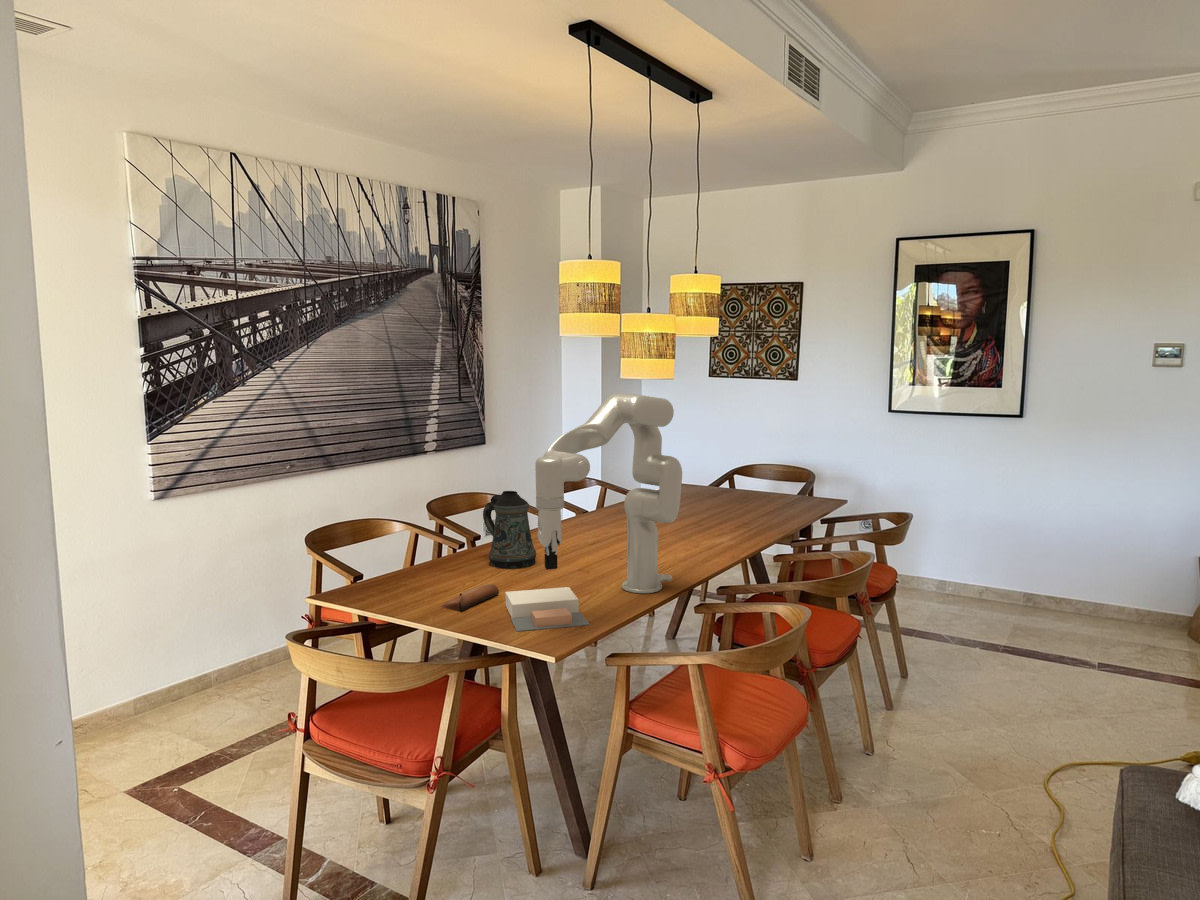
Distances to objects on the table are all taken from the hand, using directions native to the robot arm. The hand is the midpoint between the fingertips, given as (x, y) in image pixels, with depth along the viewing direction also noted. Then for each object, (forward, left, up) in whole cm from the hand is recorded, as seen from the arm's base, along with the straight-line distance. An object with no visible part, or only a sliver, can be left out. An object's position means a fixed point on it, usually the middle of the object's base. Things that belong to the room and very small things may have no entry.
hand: (551, 568), depth 221 cm
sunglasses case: (+19, -24, -16) cm, 35 cm away
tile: (0, 0, -14) cm, 14 cm away
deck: (0, -12, -15) cm, 19 cm away
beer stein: (+2, -63, -16) cm, 65 cm away
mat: (0, 0, -15) cm, 15 cm away
